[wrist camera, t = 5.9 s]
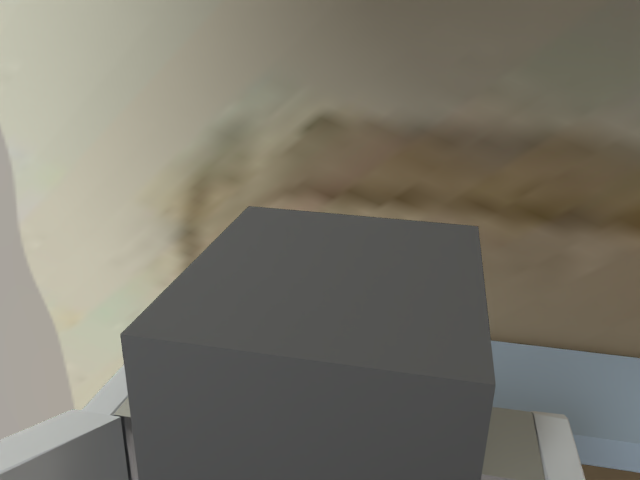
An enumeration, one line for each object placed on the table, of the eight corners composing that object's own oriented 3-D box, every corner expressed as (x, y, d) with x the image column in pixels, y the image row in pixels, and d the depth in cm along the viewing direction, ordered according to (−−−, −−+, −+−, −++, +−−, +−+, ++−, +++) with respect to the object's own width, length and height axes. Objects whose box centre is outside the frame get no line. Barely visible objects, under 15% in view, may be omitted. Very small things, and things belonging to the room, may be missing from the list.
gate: (282, 315, 27) (244, 387, 22) (683, 363, 24) (744, 458, 19) (282, 338, 28) (245, 413, 23) (676, 387, 25) (733, 486, 20)
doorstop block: (248, 205, 11) (120, 334, 7) (478, 226, 10) (496, 385, 6) (256, 467, 13) (164, 684, 9) (442, 499, 12) (437, 752, 8)
